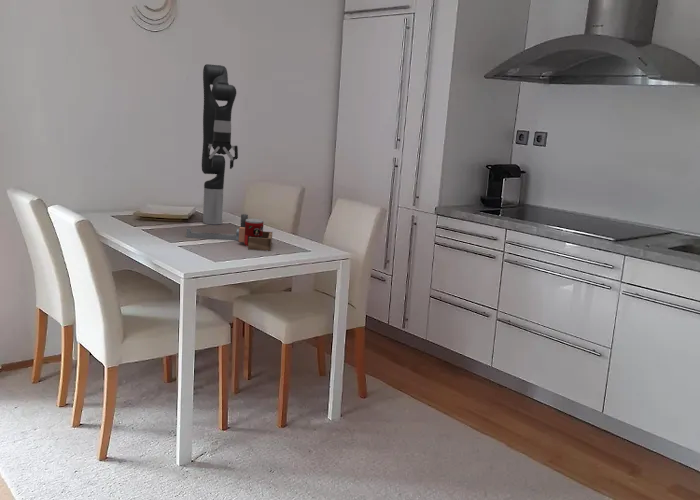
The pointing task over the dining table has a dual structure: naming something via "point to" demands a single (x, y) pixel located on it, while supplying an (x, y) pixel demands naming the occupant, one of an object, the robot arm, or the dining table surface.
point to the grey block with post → (241, 229)
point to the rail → (210, 235)
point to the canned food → (253, 229)
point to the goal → (261, 242)
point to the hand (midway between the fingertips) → (221, 168)
